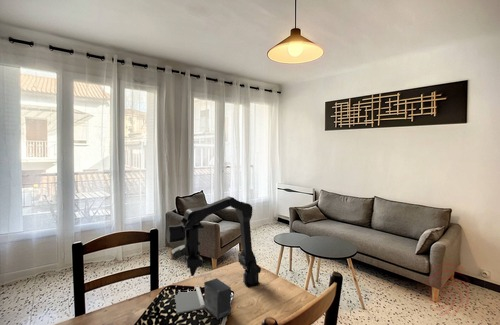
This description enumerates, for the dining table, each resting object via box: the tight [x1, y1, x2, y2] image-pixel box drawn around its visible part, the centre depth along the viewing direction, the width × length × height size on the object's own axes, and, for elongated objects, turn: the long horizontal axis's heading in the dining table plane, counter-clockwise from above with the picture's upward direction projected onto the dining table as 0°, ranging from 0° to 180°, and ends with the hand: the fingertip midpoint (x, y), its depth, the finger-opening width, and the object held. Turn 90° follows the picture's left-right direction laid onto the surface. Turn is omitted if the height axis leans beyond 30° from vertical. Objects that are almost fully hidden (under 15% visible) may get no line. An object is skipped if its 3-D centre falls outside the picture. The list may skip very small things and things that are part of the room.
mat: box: [174, 286, 206, 315], centre depth 111 cm, size 11×16×2 cm
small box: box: [203, 278, 232, 321], centre depth 103 cm, size 11×6×10 cm, turn 39°
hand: (192, 275), depth 111 cm, fingers closed
